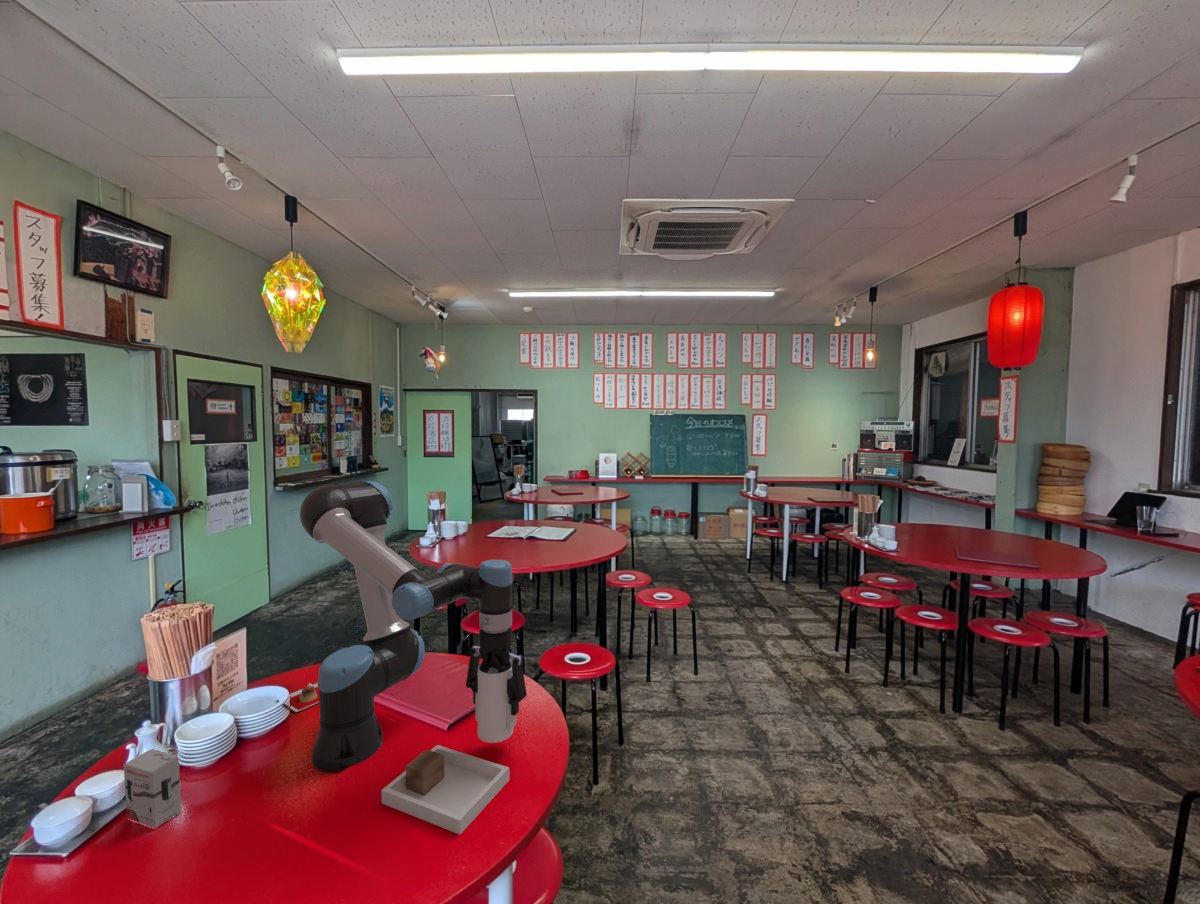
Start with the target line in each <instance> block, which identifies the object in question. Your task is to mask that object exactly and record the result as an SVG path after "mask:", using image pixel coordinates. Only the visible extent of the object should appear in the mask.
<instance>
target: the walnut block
mask: <svg viewBox="0 0 1200 904" xmlns="http://www.w3.org/2000/svg"><path fill="white" fill-rule="evenodd" d="M405 771H406V789H407V790H410V791H413V792H415V793H418V794H421V795H423V796H425V795H426V794H427V793H428V792H429V791H430V790H431V789H432V788H434V787H435V786H436V785H437V784H438V783H439V782H440V781H441V780H442V779H443V778H444V755H442V754H439V753H436V752H433V751H430V749H425V750H424V751H422V752H421V753H420V754H419V755H417V756H416V757H415V758H414V759H413V760H411V761H410V762H409V763H407V764H406V765H405Z"/></svg>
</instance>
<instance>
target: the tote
mask: <svg viewBox="0 0 1200 904" xmlns="http://www.w3.org/2000/svg"><path fill="white" fill-rule="evenodd" d="M429 750H430V749H429ZM430 751H433V752H436V753H439V754H442V755H444V778H443V779H442V780H441V781H440V782H439V783H438V784H437V785H436V786H435V787H434V788H432V789H431V790H430V791H429V792H428V793H427V794H426V795H425V796H423V795H421V794H418V793H415V792H413V791H410V790H407V789H406V770H404V771H403V772H402V773H401V774H399V776H396V778H394V780H392V781H391V782H390V783H388V784H387V785H386V786H384V788H382V789H381V804H383V805H384V806H387V807H389V808H392V809H395V810H398V811H400V812H402V813H405V814H407V815H410V816H412V817H414V818H417V819H420V820H422V821H425V822H428V823H429V824H432V825H435V826H437V827H440V828H443V829H445V830H447V831H450V832H452V833H455V834H456V835H457V834H458V835H461V834H462V833H464V831H465V830H466V829H467V828H468V827H469V825H470V824H472V822H473V821H474V820H475V819H476V818H477V816H478V815H479V814H481V813H482V811H483V810H484V809H485V808H486V806H488V805H489V803H490V802H491V801H492V800H493V799H494V798H495V796H496V795H498V793H499V792H500V791H502V789H503V788H504V787H505V786H506V785H507V784H508V782H509V781H510V767H509V766H506V765H502V764H500V763H495V762H493V761H489V760H486V759H484V758H480V757H477V756H474V755H471V754H467V753H464V752H461V751H457V750H454V749H451V748H448V747H445V746H442V745H438V744H436V746H434V747H433V748H431V750H430Z"/></svg>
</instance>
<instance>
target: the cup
mask: <svg viewBox="0 0 1200 904" xmlns="http://www.w3.org/2000/svg"><path fill="white" fill-rule="evenodd" d="M509 661H510V664H511V660H509ZM481 663H482V661H481V662H479V665H478V674H477V675H478V721H477V737H478V738H479V739H480V740H481V741H483V742H484V743H490V744H493V743H501V742H503V741H505V740H507V739H509V738H511V736H512V735H513V734H514V733H513V732H514V727H513V728H512V729H511V730H510V731H509V730H507V702H508V701H509V700H510V699H509V696H508V694H507V679H510V678H511V677H512V675H513V673H512V665H511V668H510V669H509V670H507V671H505V672H502V673H499V672H498V669H495V668H493V667H491V668H490V669H489V671H488V673H484V672H482V671H481V670H480V666H481ZM504 667H505V666H504ZM504 667H503V668H504Z"/></svg>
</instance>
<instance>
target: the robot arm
mask: <svg viewBox="0 0 1200 904" xmlns="http://www.w3.org/2000/svg"><path fill="white" fill-rule="evenodd" d="M393 505H394V503H393V499H392V497H391V494H390V492H389V490H388V489H387V488H386V487H385V486H384V485H382V484H381V483H380V482H377V481H373V480H369V481H368V480H367V481H365V480H360V481H353V482H344V483H337V484H325V485H322V486H319V487H317V488H315V489H313V490H311V491H310V492H309V493H308V494H307V495H306V496H305V497H304V499H303V501H302V503H301V505H300V509H299V520H300V523H301V525H302V528H303V529H304V530H305V532H306V534H308V536H310V537H311V538H312V539H314V540H315V541H316V542H317V543H320V544H327V546H330V547H331V548H332V549H333V550H335V551H336V552H337V553H338V554H340V555H341V556H342V557H343V558H344V559H346V561H348V562H350V564H352V565H353V568H354V573H355V577H356V578H355V579H356V582H357V586H358V591H359V597H360V601H361V605H362V609H363V615H364V620H365V624H366V629H367V632H366V633H365V635H364V636H363V638H362V641H363V644H357V645H351V646H349V647H343V648H341V649H339V650H336V651H334V652H333V653H331V654H329V655H328V656H327V657H326V658H325V659H324V660H323V661H322V663H321V664H320V666H319V669H318V678H317V683H318V687H317V688H318V702H319V703H318V704H319V707H318V708H319V712H318V713H319V728H318V731H317V735H316V738H315V739H316V740H315V743H314V745H313V747H312V752H311V761H312V766H313V767H314V768H315V769H317V770H319V771H322V772H328V773H329V772H341V771H346V769H348V768H349V767H351V766H355V765H357V764H360V763H362V762H364V761H365V760H368V759H369V758H370V757H372V756H374V754H376V753H377V752H378V751H379V750H380V749H381V748H382V745H383V743H384V737H383V736H384V735H383V730H382V727H381V725H380V723H379V720H378V718H377V716H376V714H375V697H376V696H377V695H379V694H381V693H383V692H384V691H386V690H388V689H390V688H392V687H393V686H396V685H397V684H398V683H401V682H402V681H404V680H405V681H406V680H407V679H408V678H410V676H412V675H413V674H414V673H416V672H417V671H419V670H420V668H421V666H422V664H423V662H424V660H425V652H426V651H425V650H426V648H425V647H426V646H425V642H424V640H423V638H422V636H421V635H419V631H417V630H414V629H413V628H411V625H410V623H409V622H407V621H411V620H415V619H418V618H420V617H425V616H427V615H428V614H429V613H432V612H434V611H436V610H438V609H441V608H443V607H446V606H448V605H449V604H452V603H455V602H456V601H459V600H461V599H468V600H471V601H478V606H479V607H478V608H479V615H478V616H479V622H478V624H479V628H480V629H479V630H478V631H479V632H478V638H479V639H478V640H479V641H478V643H479V644H475V645H473V646H472V647H470V648H469V649H468V652H469V653H468V654H469V662H468V669H467V675H466V682H465V686H466V688H467V689H469V688H470V689H471V690H472V696H473V697H472V702H473V705H474V706H475V718H474V719H475V721H477V722H478V665H479V664H480V663H481V662H482V663H481V666H480V670H481V671H482V672H484V673H488V671H489V669H490V668H491V667H493V668H495V669H498V672H499V673H502V672H505V671H507V670H509V669H510V668H511V665H512V673H513V675H512V677H511V678H510V679H507V694H508V696H509V699H510V700H509V701H508V702H507V730H509V731H510V730H511V729H512V728H513V729H514V727H515V726H516V725H517V714H519V711H520V702H522V701H523V700H524V699H525V698H526V697H527V688H526V683H525V681H526V680H525V675H524V668H523V667H524V666H523V662H524V661H523V660H524V656H523V654H521V653H520V654H519V655H518V654H515V653H513V650H512V648H511V647H512V643H513V627H512V626H513V602H512V601H513V600H512V597H513V595H512V594H513V581H514V580H513V579H514V578H513V572H512V568H513V567H512V565H511V563H510V561H508V560H505V559H488V560H484V561H482V562H481V563H480V564H479V567H478V566H472V565H466V564H462V563H457V562H455V563H453V562H452V563H450V562H449V563H444V564H442V565H441V566H440V568H439V569H437V570H436V573H434V574H430V575H426V574H424V573H423V572H422V571H420V570H419V569H418V568H416V567H415V566H414V565H412V564H411V563H410V562H409V561H408V560H406V559H405V558H404V557H402V556H401V555H399V553H397V552H396V551H394V550H393V549H391V548H390V547H389V546H387V544H386V539H385V535H384V532H385V530H386V529H387V527H388V522H387V519H389V517H390V516H391V514H392V510H393ZM481 658H482V661H481ZM509 660H511V664H510V661H509ZM480 661H481V662H480ZM504 666H505V667H504ZM503 667H504V668H503Z"/></svg>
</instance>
